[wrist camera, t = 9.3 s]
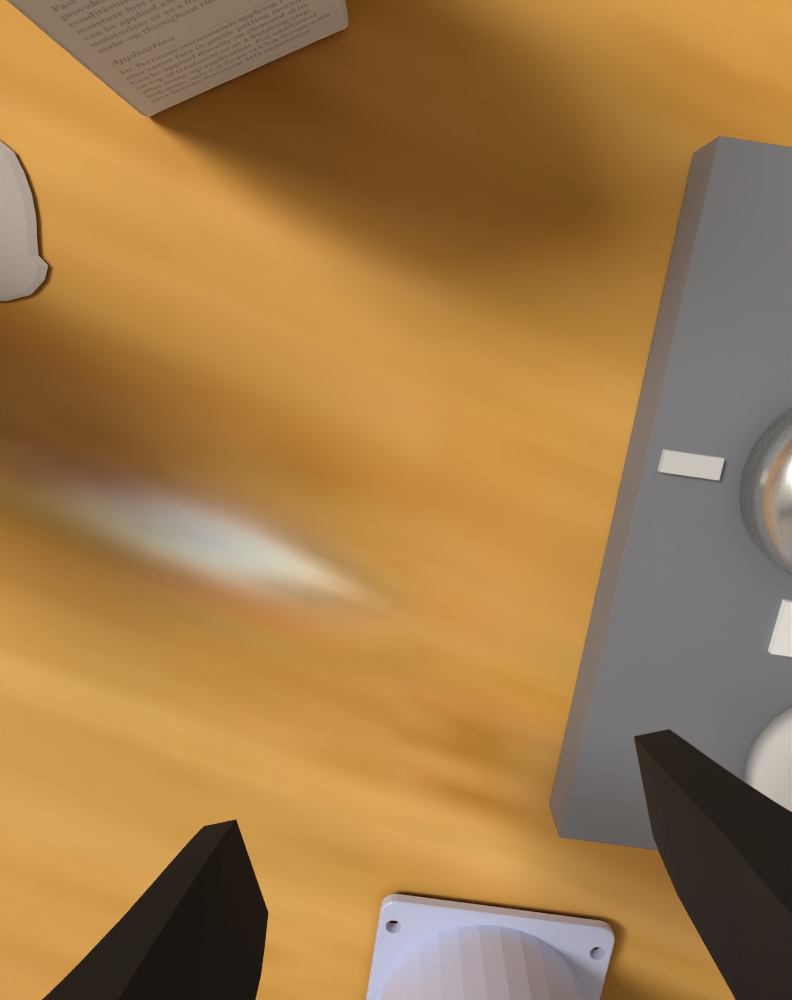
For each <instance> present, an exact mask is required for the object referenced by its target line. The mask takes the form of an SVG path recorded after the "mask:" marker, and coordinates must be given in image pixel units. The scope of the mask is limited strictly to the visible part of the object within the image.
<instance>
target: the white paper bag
mask: <svg viewBox="0 0 792 1000" xmlns="http://www.w3.org/2000/svg"><path fill="white" fill-rule="evenodd" d="M47 268H48V265H47V264H46V263H45V261H44V260H43V259H42V258H41V257H40V256H39V255H38V244H37V224H36V214H35V208H34V203H33V198H32V194H31V191H30V188H29V185H28V182H27V179H26V176H25V173H24V171H23V169H22V167H21V165H20V163H19V161H18V159H17V157H16V155H15V153H14V152H13V151H12V150H11V149H10V148H8V147H7V146H6V145H5V144H4V143H2V142H1V141H0V301H8V300H12V299H16V298H21V297H25V296H29V295H31V294H32V293H33V292H34V291H35V290H36V289H37V288H38V287H39V286H40V285H41V284H42V282H43V281H44V280H45V277H46V272H47Z"/></svg>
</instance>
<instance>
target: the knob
mask: <svg viewBox="0 0 792 1000" xmlns="http://www.w3.org/2000/svg"><path fill="white" fill-rule="evenodd" d="M739 503H740V511H741V516H742V520H743V523H744V525H745V528H746V530H747V532H748V534H749V536H750V537H751V539H752V541H753V542H754V543H755V545H756V546H757V547H758V548H759V550H761V551H762V552H763V553H764V554H765V555H766V556H767V557H768V558H770V559H771V560H773V561H774V562H775V563H777V564H779V565H780V566H782V567H784V568H785V569H787V570H789V571H790V572H792V408H791V409H789V410H788V411H786V412H785V413H783V414H782V415H781V416H780V417H778V418H777V419H776V420H775V421H774V422H773V423H772V424H771V425H770V426H769V427H768V428H767V429H766V430H765V431H764V432H763V434H762V435H761V436H760V437H759V438H758V440H757V442H756V443H755V445H754V446H753V448H752V450H751V452H750V454H749V456H748V458H747V460H746V462H745V466H744V469H743V472H742V476H741V481H740V489H739Z"/></svg>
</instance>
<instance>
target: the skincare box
mask: <svg viewBox="0 0 792 1000" xmlns="http://www.w3.org/2000/svg"><path fill="white" fill-rule="evenodd" d="M7 1H8V2H9V3H11V4H12V5H13V6H14V7H15V8H17V9H18V10H19V11H20V12H21V13H23V14H24V15H25V16H26V17H27V18H28V19H30V20H31V21H32V22H33V23H34V24H36V25H37V26H38V27H39V28H40V29H41V30H42V31H44V32H45V33H46V34H47V35H48V36H49V37H50V38H51V39H53V40H54V41H55V42H56V43H57V44H59V45H60V46H61V47H62V48H63V49H65V50H66V51H67V52H68V53H69V54H71V55H72V56H73V57H74V58H75V59H76V60H77V61H79V62H80V63H81V64H82V65H83V66H84V67H86V68H87V69H88V70H89V71H90V72H92V73H93V74H94V75H95V76H96V77H98V78H99V79H100V80H101V81H102V82H104V83H105V84H106V85H107V86H108V87H109V88H111V89H112V90H113V91H114V92H115V93H116V94H117V95H119V96H120V97H121V98H122V99H124V100H125V101H126V102H127V103H128V104H129V105H131V106H132V107H133V108H134V109H135V110H137V111H138V112H139V113H141V114H142V115H144V116H147V117H150V116H152V115H154V114H157V113H159V112H161V111H163V110H165V109H167V108H169V107H172V106H174V105H176V104H178V103H181V102H183V101H185V100H187V99H190V98H192V97H194V96H196V95H198V94H201V93H203V92H205V91H207V90H209V89H212V88H214V87H216V86H218V85H221V84H223V83H225V82H227V81H229V80H232V79H234V78H236V77H239V76H241V75H243V74H245V73H247V72H249V71H252V70H254V69H256V68H258V67H260V66H263V65H265V64H267V63H269V62H271V61H274V60H276V59H278V58H280V57H282V56H285V55H287V54H289V53H291V52H294V51H296V50H298V49H300V48H303V47H305V46H307V45H309V44H311V43H313V42H315V41H318V40H320V39H323V38H325V37H327V36H330V35H332V34H334V33H336V32H339V31H341V30H343V29H345V28H346V27H348V24H349V20H348V13H347V7H346V2H345V0H7Z"/></svg>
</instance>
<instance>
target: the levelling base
mask: <svg viewBox="0 0 792 1000" xmlns="http://www.w3.org/2000/svg"><path fill="white" fill-rule="evenodd" d="M791 408H792V147H787V146H780V145H774V144H767V143H761V142H754V141H747V140H741V139H734V138H728V137H721V136H719V137H717V138H716V139H714V140H713V141H711V142H710V143H708V144H707V145H705V146H704V147H702V148H700V149H699V150H697V151H696V152H694V154H693V158H692V163H691V167H690V172H689V176H688V181H687V185H686V190H685V194H684V199H683V203H682V208H681V212H680V217H679V221H678V226H677V230H676V235H675V240H674V244H673V249H672V253H671V258H670V262H669V267H668V271H667V276H666V280H665V285H664V289H663V294H662V298H661V303H660V307H659V312H658V316H657V321H656V325H655V330H654V334H653V339H652V343H651V348H650V353H649V357H648V362H647V366H646V371H645V375H644V380H643V384H642V389H641V393H640V398H639V402H638V407H637V411H636V416H635V420H634V425H633V429H632V434H631V438H630V443H629V447H628V452H627V456H626V461H625V466H624V470H623V475H622V479H621V484H620V488H619V493H618V497H617V502H616V506H615V511H614V515H613V520H612V524H611V529H610V533H609V538H608V542H607V547H606V551H605V556H604V560H603V565H602V569H601V574H600V578H599V583H598V588H597V592H596V597H595V601H594V606H593V610H592V615H591V619H590V624H589V628H588V633H587V637H586V642H585V646H584V651H583V655H582V660H581V664H580V669H579V673H578V678H577V682H576V687H575V691H574V696H573V701H572V705H571V710H570V714H569V719H568V723H567V728H566V732H565V737H564V741H563V746H562V750H561V755H560V759H559V764H558V768H557V773H556V777H555V782H554V786H553V791H552V795H551V800H550V804H549V805H550V809H551V812H552V815H553V818H554V821H555V825H556V828H557V831H558V834H559V837H562V838H570V839H577V840H585V841H592V842H600V843H608V844H615V845H623V846H630V847H638V848H645V849H653V850H658V848H657V845H656V843H655V841H654V838H653V835H652V830H651V825H650V819H649V814H648V809H647V804H646V798H645V793H644V788H643V782H642V777H641V772H640V767H639V761H638V756H637V751H636V746H635V740H634V736H638V735H643V734H648V733H653V732H657V731H662V730H667V729H670V730H671V731H673V732H674V733H676V734H677V735H679V736H680V737H681V738H683V739H684V740H686V741H687V742H688V743H690V744H691V745H693V746H694V747H695V748H697V749H698V750H699V751H701V752H702V753H704V754H705V755H706V756H708V757H709V758H711V759H712V760H713V761H715V762H716V763H718V764H719V765H720V766H722V767H723V768H725V769H726V770H728V771H729V772H731V773H732V774H733V775H735V776H736V777H738V778H739V779H741V780H742V781H744V782H745V783H747V784H748V785H750V786H751V787H753V788H755V789H756V790H758V791H759V792H761V793H762V794H764V795H765V796H767V797H768V798H770V799H771V800H773V801H775V802H776V803H778V804H779V805H781V806H783V807H784V808H786V809H788V810H789V811H791V812H792V572H790V571H789V570H787V569H785V568H784V567H782V566H780V565H779V564H777V563H775V562H774V561H773V560H771V559H770V558H768V557H767V556H766V555H765V554H764V553H763V552H762V551H761V550H759V548H758V547H757V546H756V545H755V543H754V542H753V541H752V539H751V537H750V536H749V534H748V532H747V530H746V528H745V525H744V523H743V520H742V516H741V511H740V503H739V489H740V481H741V476H742V472H743V469H744V466H745V462H746V460H747V458H748V456H749V454H750V452H751V450H752V448H753V446H754V445H755V443H756V442H757V440H758V438H759V437H760V436H761V435H762V434H763V432H764V431H765V430H766V429H767V428H768V427H769V426H770V425H771V424H772V423H773V422H774V421H775V420H776V419H777V418H778V417H780V416H781V415H782V414H783V413H785V412H786V411H788V410H789V409H791Z"/></svg>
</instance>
